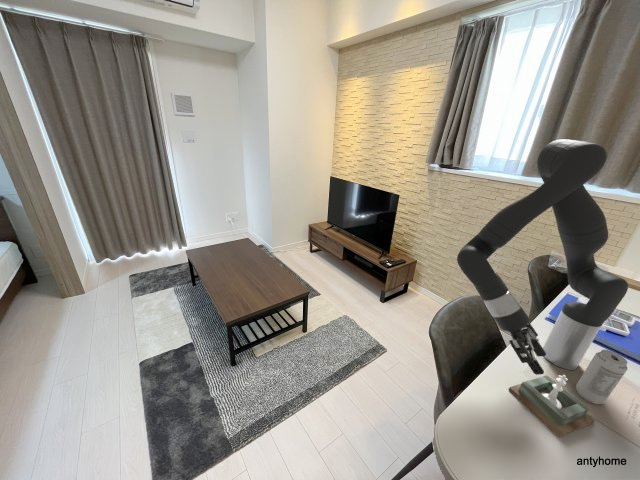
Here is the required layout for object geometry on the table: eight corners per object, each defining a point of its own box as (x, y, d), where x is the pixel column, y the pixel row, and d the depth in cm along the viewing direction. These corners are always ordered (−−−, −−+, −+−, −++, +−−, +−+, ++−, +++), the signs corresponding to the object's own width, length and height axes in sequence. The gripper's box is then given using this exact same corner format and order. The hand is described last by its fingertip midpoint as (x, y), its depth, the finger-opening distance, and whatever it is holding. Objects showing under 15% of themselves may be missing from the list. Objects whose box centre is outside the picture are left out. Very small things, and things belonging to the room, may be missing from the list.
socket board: (540, 379, 77) (545, 370, 76) (593, 422, 66) (600, 412, 64) (508, 389, 74) (513, 379, 72) (559, 436, 62) (566, 426, 61)
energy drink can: (598, 393, 74) (624, 354, 69) (606, 410, 70) (635, 369, 64) (571, 383, 77) (594, 344, 72) (577, 398, 72) (603, 358, 67)
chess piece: (537, 390, 73) (551, 364, 69) (560, 401, 70) (576, 375, 66) (537, 402, 69) (552, 375, 65) (561, 415, 66) (578, 387, 63)
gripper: (516, 317, 64) (557, 379, 61) (523, 295, 74) (558, 348, 71) (485, 324, 69) (522, 381, 66) (496, 302, 79) (528, 351, 76)
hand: (541, 364), depth 69 cm, fingers open, 8 cm apart
